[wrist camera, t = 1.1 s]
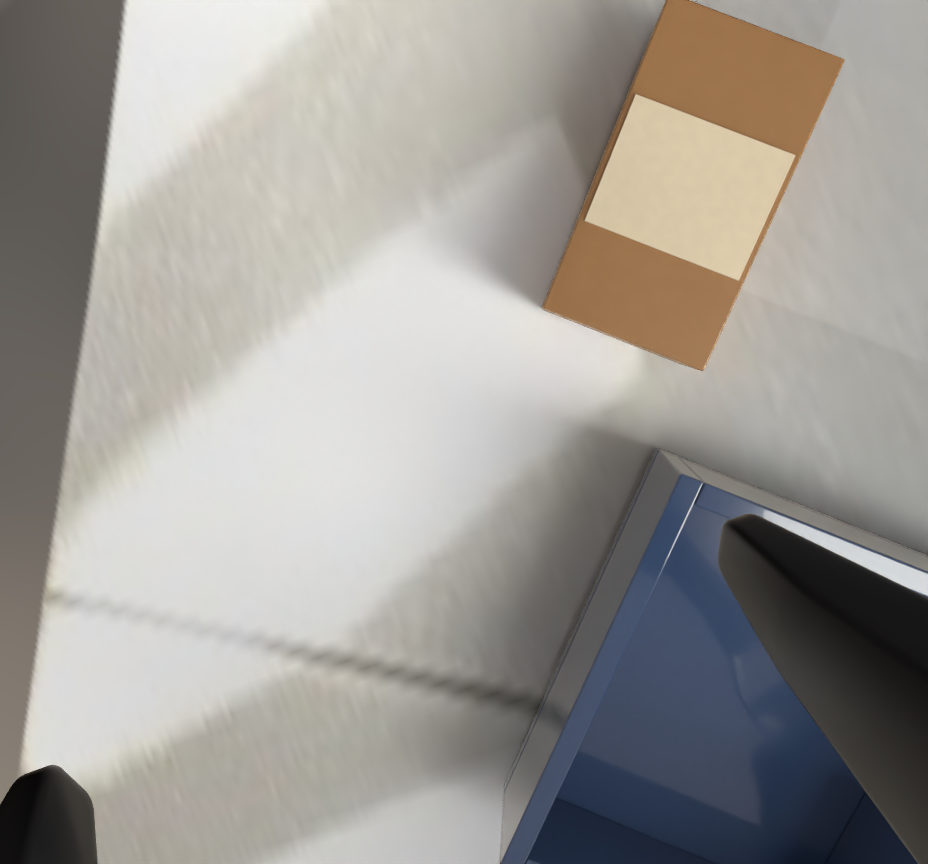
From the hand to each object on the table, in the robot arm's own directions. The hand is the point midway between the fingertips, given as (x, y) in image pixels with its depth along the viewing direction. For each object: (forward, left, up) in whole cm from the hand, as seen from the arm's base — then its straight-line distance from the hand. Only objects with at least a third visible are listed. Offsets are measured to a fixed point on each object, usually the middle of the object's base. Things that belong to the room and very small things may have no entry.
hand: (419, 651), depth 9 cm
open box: (-13, +6, -18) cm, 23 cm away
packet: (-3, -10, -18) cm, 21 cm away
